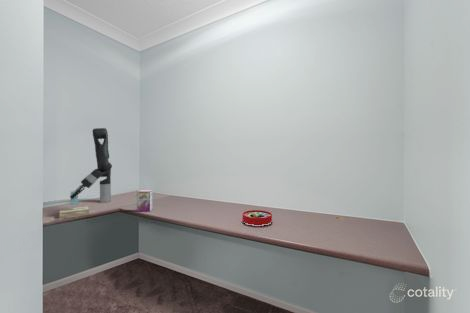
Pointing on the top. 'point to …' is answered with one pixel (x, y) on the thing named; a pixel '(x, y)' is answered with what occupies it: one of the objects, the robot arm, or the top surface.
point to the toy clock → (257, 217)
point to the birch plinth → (74, 212)
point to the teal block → (74, 199)
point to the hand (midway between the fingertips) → (71, 197)
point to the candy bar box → (144, 200)
